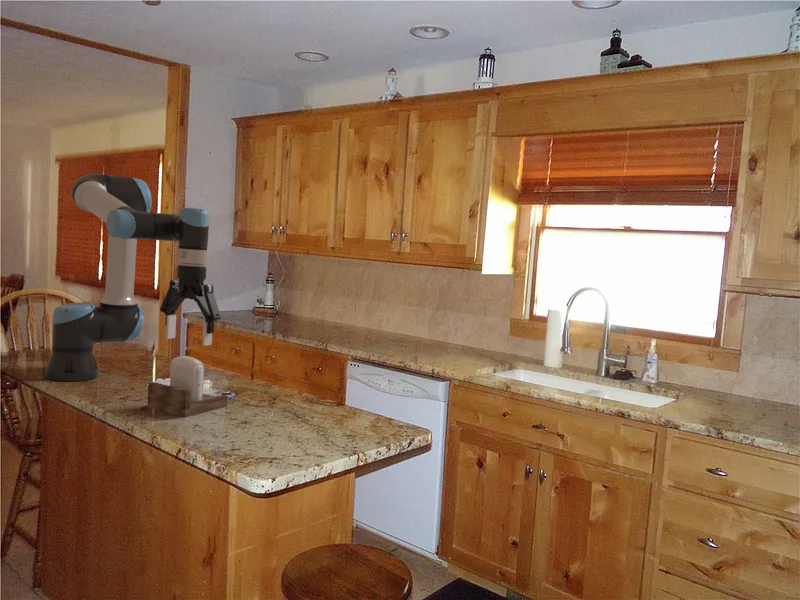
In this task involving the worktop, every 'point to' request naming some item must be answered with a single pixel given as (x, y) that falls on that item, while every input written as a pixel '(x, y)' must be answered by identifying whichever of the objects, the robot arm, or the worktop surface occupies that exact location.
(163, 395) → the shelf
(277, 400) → the worktop surface
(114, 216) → the robot arm
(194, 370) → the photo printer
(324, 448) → the worktop surface
